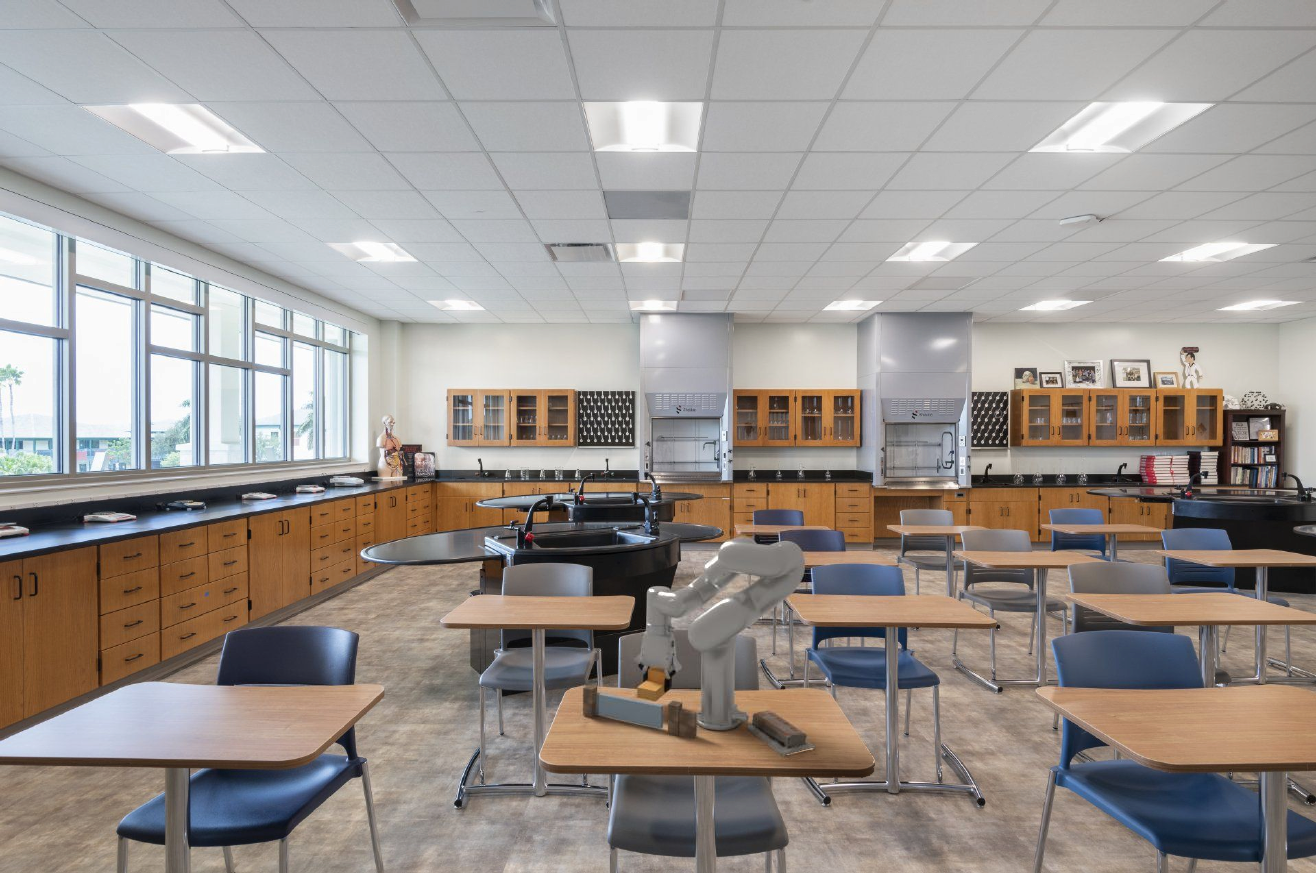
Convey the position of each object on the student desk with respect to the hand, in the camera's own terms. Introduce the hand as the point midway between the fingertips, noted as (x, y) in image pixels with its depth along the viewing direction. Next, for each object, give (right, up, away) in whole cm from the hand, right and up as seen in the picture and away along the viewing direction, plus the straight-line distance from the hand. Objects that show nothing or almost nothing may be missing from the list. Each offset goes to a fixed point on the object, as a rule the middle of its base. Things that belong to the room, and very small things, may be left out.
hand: (657, 687), depth 190 cm
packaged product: (+33, -6, -21) cm, 39 cm away
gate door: (-8, -5, -11) cm, 15 cm away
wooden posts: (-6, -5, -12) cm, 15 cm away
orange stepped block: (-1, -1, -2) cm, 2 cm away
